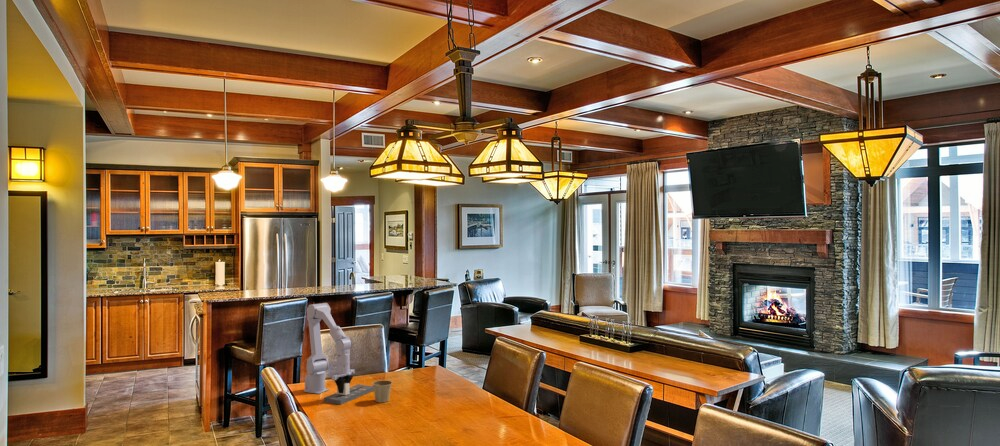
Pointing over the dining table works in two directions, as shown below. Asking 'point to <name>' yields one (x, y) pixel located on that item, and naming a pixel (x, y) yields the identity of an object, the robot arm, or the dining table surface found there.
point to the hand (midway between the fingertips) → (343, 391)
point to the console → (354, 393)
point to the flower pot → (382, 390)
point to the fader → (345, 389)
